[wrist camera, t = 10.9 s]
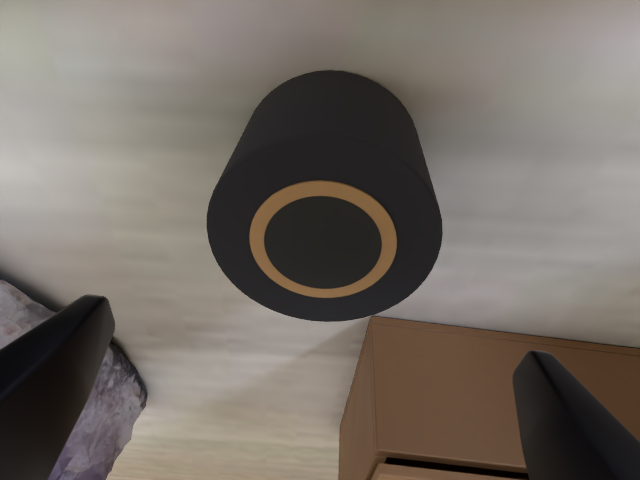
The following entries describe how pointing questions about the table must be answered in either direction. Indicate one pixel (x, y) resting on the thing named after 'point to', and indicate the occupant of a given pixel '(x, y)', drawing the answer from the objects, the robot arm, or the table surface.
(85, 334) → the robot arm
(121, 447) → the geode
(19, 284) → the table surface
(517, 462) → the carton
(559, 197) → the table surface
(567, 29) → the table surface
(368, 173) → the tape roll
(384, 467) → the flap
